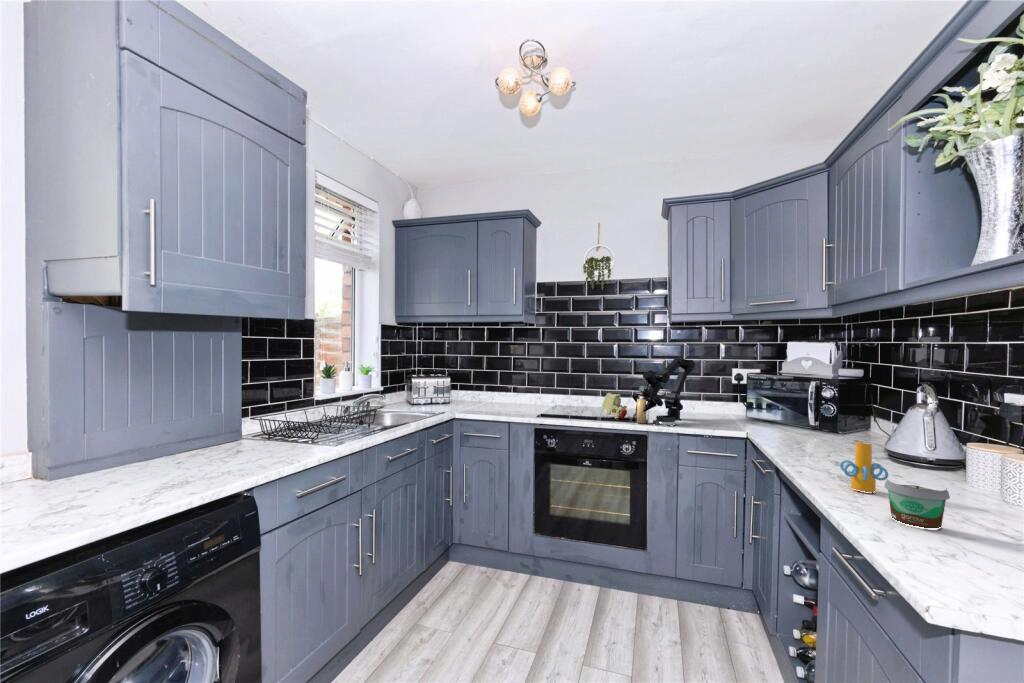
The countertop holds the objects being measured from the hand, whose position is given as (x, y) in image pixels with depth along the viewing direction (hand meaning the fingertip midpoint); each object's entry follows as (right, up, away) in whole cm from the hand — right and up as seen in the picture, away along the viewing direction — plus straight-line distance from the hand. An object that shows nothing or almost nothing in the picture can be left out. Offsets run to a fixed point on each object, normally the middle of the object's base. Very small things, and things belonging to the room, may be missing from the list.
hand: (639, 410), depth 247 cm
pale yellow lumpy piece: (-8, -7, +17) cm, 21 cm away
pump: (+1, -7, +1) cm, 7 cm away
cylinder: (+37, -8, -111) cm, 117 cm away
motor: (+14, -7, -1) cm, 16 cm away
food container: (+29, -7, -138) cm, 141 cm away
